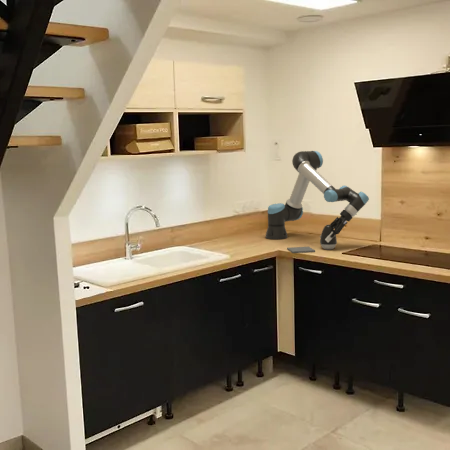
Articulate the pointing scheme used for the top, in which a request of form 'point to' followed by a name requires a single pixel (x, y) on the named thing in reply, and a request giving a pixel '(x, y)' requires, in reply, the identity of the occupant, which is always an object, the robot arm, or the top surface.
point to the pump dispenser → (324, 235)
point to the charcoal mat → (300, 249)
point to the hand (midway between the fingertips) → (323, 239)
